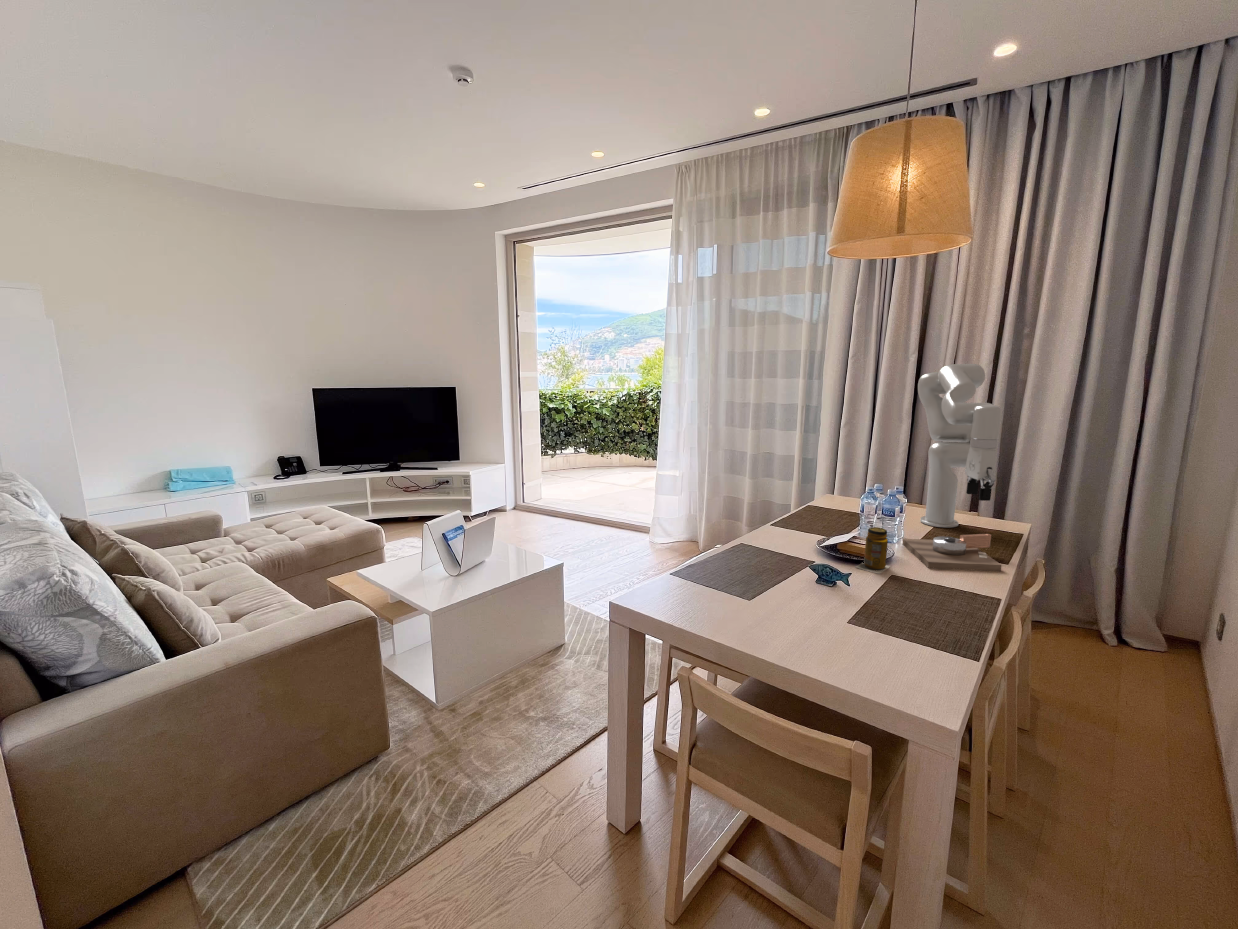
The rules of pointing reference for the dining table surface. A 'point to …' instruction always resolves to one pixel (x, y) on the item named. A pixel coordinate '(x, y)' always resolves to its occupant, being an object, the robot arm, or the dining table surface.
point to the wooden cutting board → (950, 557)
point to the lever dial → (960, 543)
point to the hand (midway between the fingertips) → (977, 496)
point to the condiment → (875, 551)
